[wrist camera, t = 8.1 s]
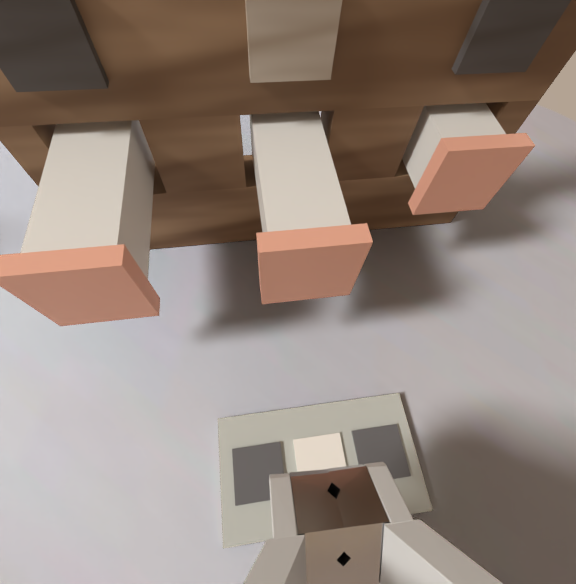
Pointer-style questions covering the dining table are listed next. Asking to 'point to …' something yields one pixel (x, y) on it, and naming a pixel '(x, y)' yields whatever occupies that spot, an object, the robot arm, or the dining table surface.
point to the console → (269, 88)
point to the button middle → (302, 212)
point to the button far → (460, 158)
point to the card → (310, 456)
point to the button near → (89, 228)
